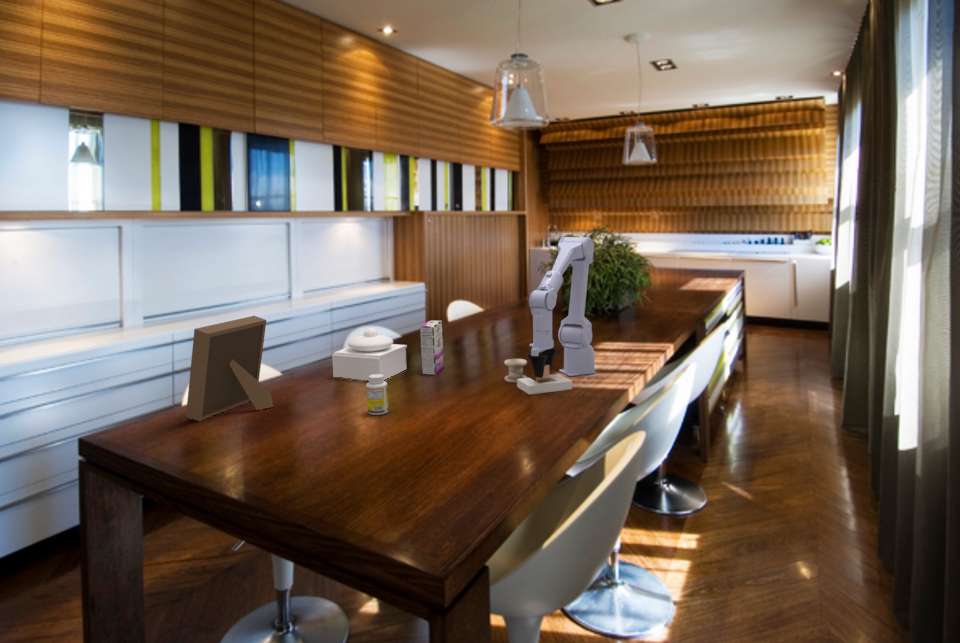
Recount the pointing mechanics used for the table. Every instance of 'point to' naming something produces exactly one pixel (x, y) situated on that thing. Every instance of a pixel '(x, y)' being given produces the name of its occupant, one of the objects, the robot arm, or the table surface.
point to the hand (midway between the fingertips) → (542, 374)
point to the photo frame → (227, 367)
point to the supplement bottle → (377, 395)
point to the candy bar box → (431, 347)
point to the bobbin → (515, 369)
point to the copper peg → (544, 375)
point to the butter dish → (369, 357)
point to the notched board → (544, 385)
